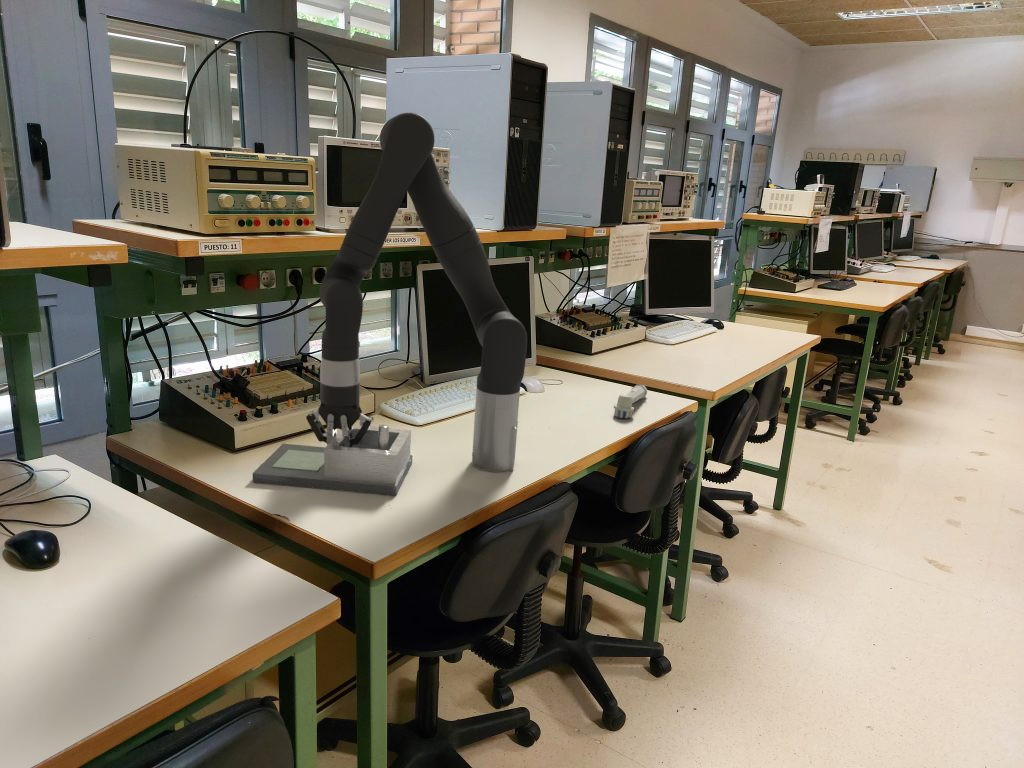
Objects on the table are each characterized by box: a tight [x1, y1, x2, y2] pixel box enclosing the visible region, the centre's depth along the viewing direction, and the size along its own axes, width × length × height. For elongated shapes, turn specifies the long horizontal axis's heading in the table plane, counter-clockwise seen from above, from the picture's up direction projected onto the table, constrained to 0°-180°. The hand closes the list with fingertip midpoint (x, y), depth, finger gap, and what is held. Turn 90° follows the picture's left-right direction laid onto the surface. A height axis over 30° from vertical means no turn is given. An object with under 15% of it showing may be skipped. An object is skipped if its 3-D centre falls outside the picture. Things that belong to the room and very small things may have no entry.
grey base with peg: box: [252, 424, 413, 497], centre depth 144 cm, size 28×16×11 cm, turn 87°
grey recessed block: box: [324, 424, 412, 484], centre depth 144 cm, size 14×14×6 cm
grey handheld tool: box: [613, 384, 648, 419], centre depth 202 cm, size 5×7×25 cm
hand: (339, 461), depth 144 cm, fingers closed on grey recessed block
